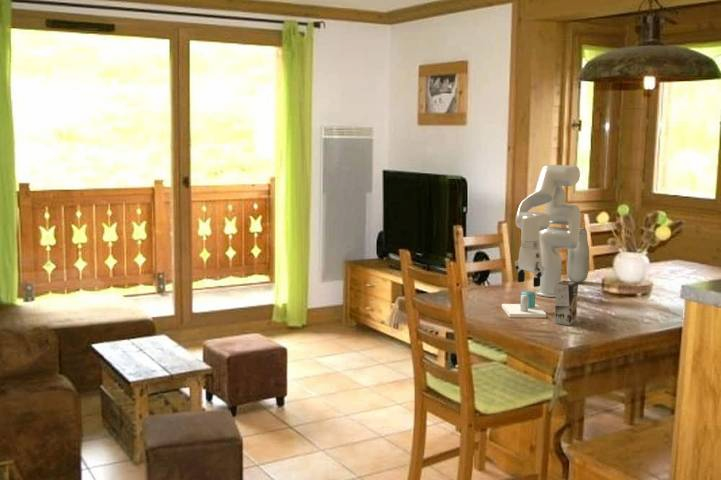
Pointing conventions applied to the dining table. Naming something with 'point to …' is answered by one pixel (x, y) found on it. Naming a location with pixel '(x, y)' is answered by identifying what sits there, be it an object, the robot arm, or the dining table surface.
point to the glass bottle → (579, 259)
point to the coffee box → (566, 302)
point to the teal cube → (529, 298)
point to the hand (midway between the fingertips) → (528, 284)
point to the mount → (523, 309)
